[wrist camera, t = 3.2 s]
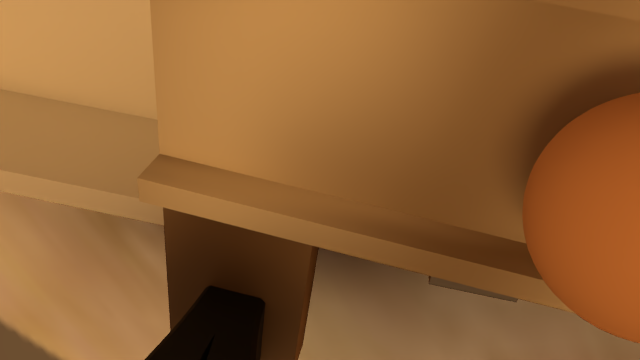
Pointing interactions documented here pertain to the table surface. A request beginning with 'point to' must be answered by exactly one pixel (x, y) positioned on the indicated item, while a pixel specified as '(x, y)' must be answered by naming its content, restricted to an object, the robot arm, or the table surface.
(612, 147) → the ball
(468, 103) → the catapult lever
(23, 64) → the tray
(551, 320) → the table surface
